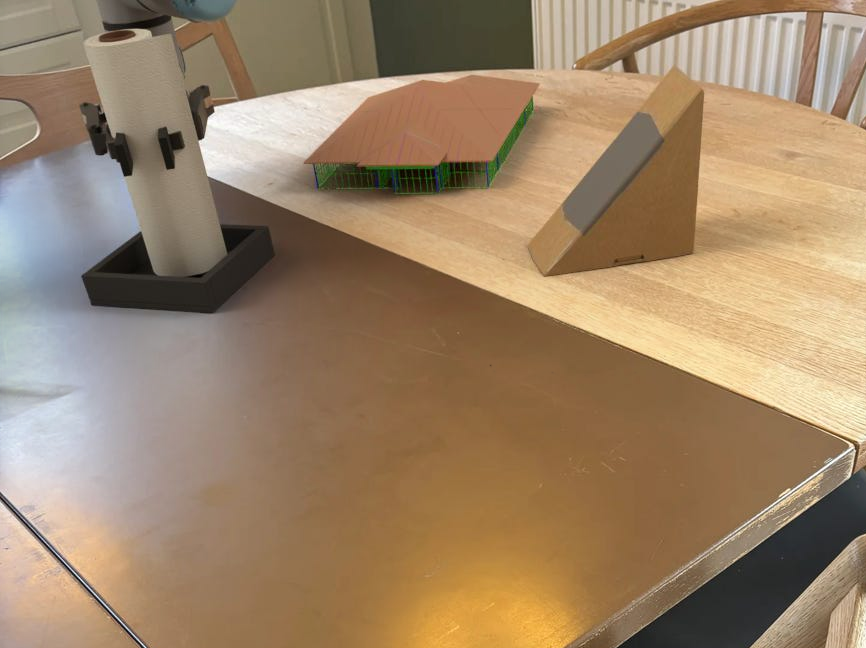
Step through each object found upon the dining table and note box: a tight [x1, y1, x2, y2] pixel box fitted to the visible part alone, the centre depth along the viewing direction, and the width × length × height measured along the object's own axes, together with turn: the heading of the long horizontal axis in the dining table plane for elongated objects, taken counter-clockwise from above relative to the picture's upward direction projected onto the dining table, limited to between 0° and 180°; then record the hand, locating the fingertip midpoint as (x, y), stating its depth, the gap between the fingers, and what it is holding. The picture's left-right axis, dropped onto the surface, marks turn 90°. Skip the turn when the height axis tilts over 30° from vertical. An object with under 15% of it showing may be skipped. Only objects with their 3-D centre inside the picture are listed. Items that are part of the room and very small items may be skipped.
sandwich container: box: [526, 64, 705, 277], centre depth 97 cm, size 9×15×15 cm, turn 100°
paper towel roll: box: [83, 29, 227, 277], centre depth 98 cm, size 7×6×21 cm
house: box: [303, 74, 540, 195], centre depth 127 cm, size 23×33×8 cm
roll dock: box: [80, 223, 276, 314], centre depth 104 cm, size 14×14×3 cm
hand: (145, 157), depth 92 cm, fingers closed on paper towel roll, 3 cm apart
